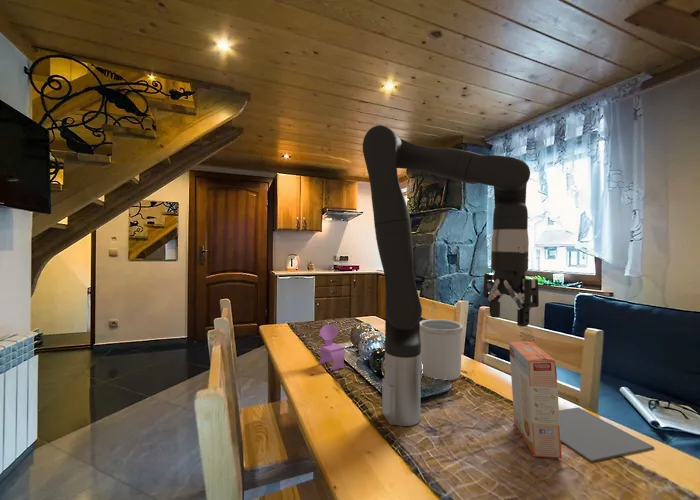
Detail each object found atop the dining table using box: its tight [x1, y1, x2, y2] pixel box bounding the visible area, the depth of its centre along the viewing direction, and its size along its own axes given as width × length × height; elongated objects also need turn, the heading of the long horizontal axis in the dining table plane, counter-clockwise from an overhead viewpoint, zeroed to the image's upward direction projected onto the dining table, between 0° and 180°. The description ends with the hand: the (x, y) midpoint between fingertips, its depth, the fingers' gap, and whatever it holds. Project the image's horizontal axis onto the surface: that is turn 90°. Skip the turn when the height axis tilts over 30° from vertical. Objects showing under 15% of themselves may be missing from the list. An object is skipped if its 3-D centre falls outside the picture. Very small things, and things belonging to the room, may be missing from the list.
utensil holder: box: [420, 318, 464, 381], centre depth 114 cm, size 15×15×18 cm
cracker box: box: [508, 341, 563, 459], centre depth 75 cm, size 14×6×21 cm, turn 168°
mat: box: [559, 407, 655, 463], centre depth 78 cm, size 18×18×1 cm
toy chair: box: [317, 323, 346, 372], centre depth 120 cm, size 8×9×15 cm
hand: (508, 321), depth 73 cm, fingers open, 8 cm apart
